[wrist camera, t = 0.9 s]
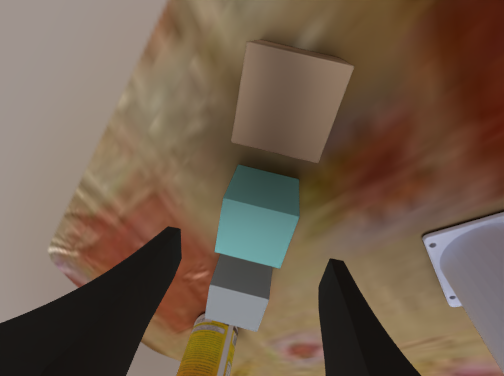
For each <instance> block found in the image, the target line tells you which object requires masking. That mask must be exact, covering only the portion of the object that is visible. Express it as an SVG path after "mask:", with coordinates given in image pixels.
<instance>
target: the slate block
mask: <svg viewBox="0 0 504 376" xmlns="http://www.w3.org/2000/svg"><path fill="white" fill-rule="evenodd" d="M271 276H272V266H268V265H264V264H260V263H256V262H252V261H248V260H244V259H240V258H236V257H233V256H229V255H225V254H220V257H219V260H218V263H217V266H216V269H215V271H214V274H213V277H212V280H211V283H210V287H209V294H208V300H207V306H206V312H205V318H206V319H209V320H213V321H217V322H221V323H225V324H229V325H233V326H236V327H240V328H244V329H248V330H252V331H256V332H257V330H258V328H259V325H260V322H261V320H262V317H263V314H264V312H265V309H266V306H267V304H268V301H269V295H270V285H271Z"/></svg>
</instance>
